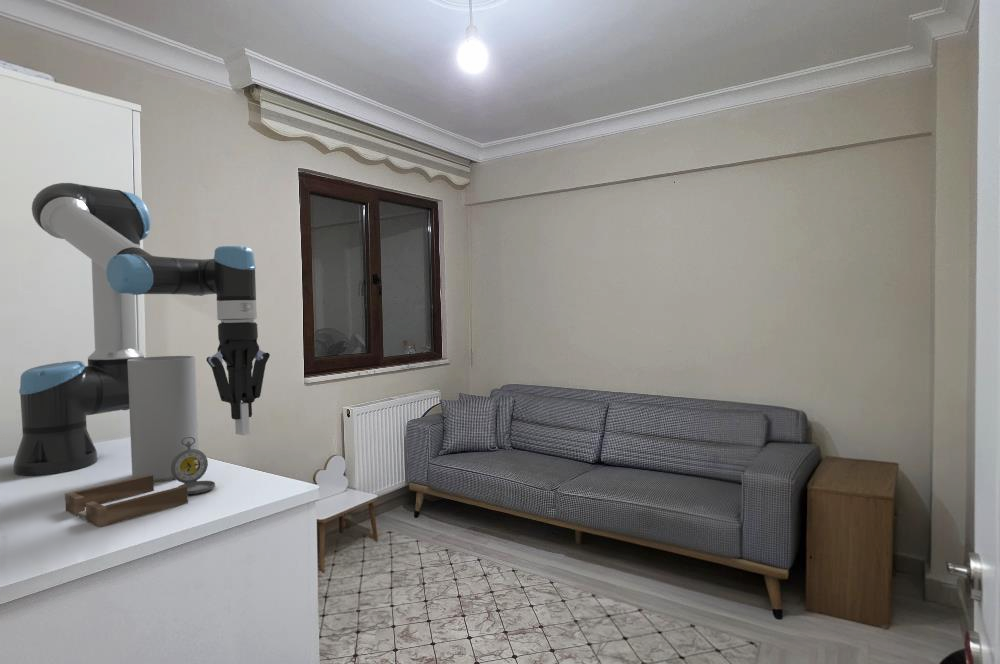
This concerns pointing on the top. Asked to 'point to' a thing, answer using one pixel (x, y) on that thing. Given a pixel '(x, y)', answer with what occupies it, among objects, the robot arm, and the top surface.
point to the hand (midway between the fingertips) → (242, 433)
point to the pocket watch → (191, 469)
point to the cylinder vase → (161, 413)
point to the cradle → (123, 509)
